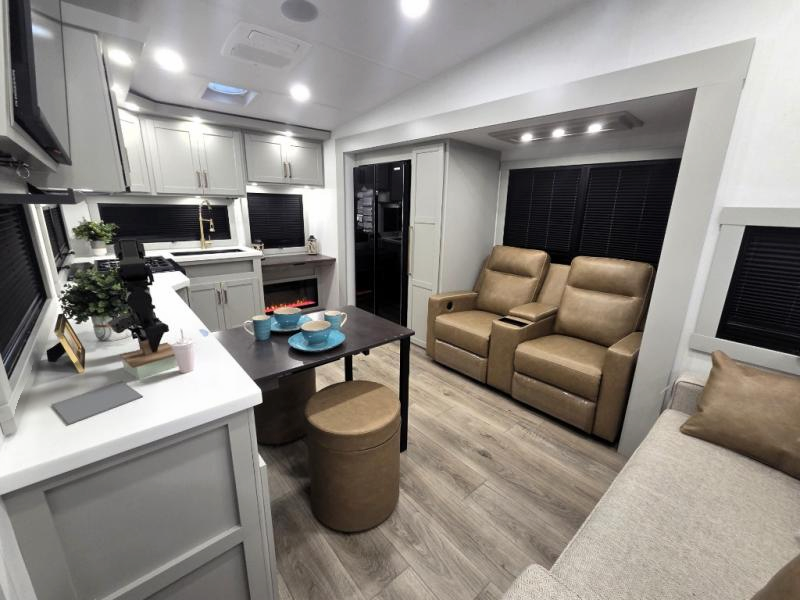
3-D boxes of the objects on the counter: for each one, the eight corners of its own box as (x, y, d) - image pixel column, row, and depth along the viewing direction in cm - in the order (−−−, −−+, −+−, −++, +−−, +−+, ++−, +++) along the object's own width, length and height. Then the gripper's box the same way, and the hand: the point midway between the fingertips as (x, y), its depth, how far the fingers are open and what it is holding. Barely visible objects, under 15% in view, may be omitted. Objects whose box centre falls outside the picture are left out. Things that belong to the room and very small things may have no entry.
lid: (120, 356, 108) (117, 342, 106) (167, 344, 117) (164, 331, 116) (132, 368, 100) (129, 353, 99) (181, 354, 110) (179, 340, 108)
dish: (124, 370, 108) (121, 357, 107) (166, 357, 118) (163, 345, 117) (139, 380, 102) (136, 367, 100) (182, 366, 111) (180, 353, 110)
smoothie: (188, 376, 104) (180, 333, 100) (170, 374, 105) (162, 331, 101) (203, 366, 110) (196, 326, 106) (186, 365, 111) (179, 324, 107)
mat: (52, 405, 88) (51, 404, 88) (122, 382, 100) (121, 380, 100) (68, 425, 80) (68, 423, 80) (143, 397, 92) (142, 395, 92)
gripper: (96, 304, 103) (108, 351, 107) (119, 314, 93) (131, 366, 97) (139, 296, 112) (149, 341, 116) (165, 305, 101) (174, 353, 105)
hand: (150, 350), depth 108 cm, fingers open, 6 cm apart
